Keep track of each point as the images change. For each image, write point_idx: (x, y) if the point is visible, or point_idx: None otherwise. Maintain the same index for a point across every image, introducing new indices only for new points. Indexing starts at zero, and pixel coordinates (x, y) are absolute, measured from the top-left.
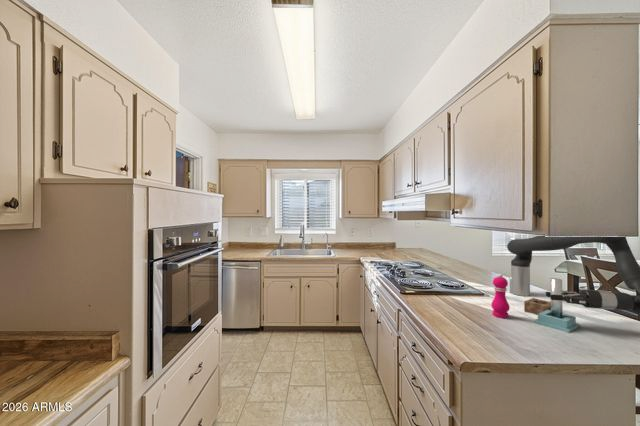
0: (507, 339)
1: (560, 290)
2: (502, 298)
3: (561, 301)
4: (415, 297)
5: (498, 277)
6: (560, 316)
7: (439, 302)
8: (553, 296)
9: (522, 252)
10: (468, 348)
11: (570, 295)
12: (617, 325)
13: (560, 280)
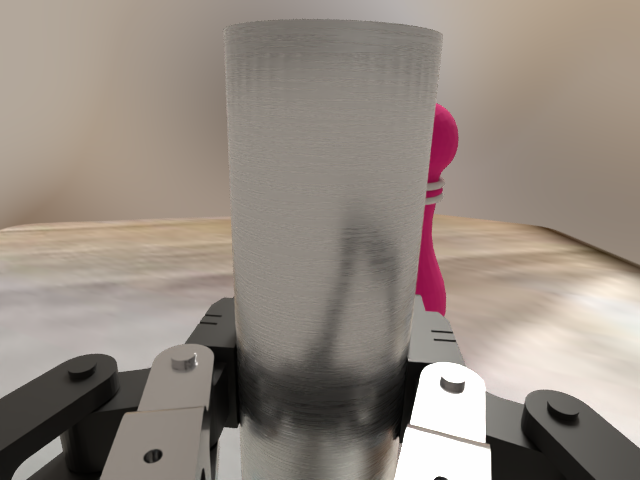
0: (84, 299)
1: (235, 265)
2: None
3: (245, 460)
4: (490, 221)
5: None
6: None
7: (474, 247)
8: (222, 302)
9: None
10: (61, 237)
11: (124, 432)
12: None
13: (224, 35)
